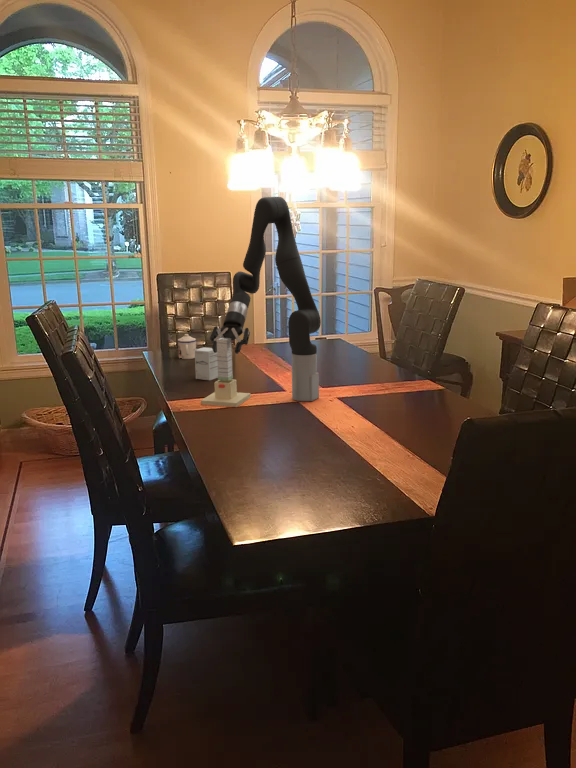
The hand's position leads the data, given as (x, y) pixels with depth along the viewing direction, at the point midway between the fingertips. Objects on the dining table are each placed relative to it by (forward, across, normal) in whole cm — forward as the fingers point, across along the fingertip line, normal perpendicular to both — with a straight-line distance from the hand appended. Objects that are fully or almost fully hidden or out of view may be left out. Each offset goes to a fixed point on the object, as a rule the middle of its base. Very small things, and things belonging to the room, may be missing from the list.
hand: (225, 352), depth 238 cm
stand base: (+14, 0, +12) cm, 18 cm away
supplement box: (-8, -22, +35) cm, 42 cm away
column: (+8, 0, +6) cm, 10 cm away
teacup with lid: (-34, -49, +60) cm, 85 cm away
